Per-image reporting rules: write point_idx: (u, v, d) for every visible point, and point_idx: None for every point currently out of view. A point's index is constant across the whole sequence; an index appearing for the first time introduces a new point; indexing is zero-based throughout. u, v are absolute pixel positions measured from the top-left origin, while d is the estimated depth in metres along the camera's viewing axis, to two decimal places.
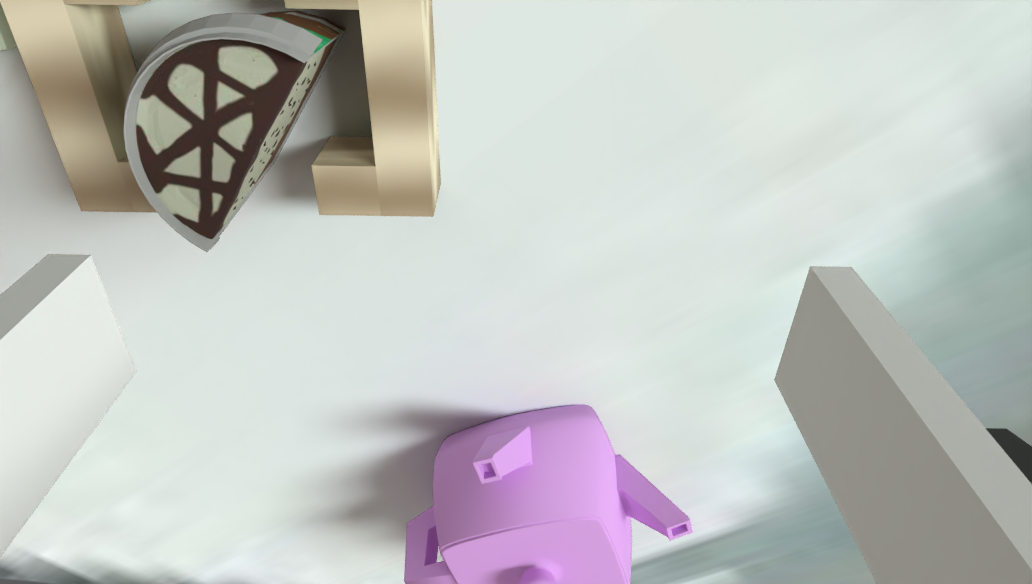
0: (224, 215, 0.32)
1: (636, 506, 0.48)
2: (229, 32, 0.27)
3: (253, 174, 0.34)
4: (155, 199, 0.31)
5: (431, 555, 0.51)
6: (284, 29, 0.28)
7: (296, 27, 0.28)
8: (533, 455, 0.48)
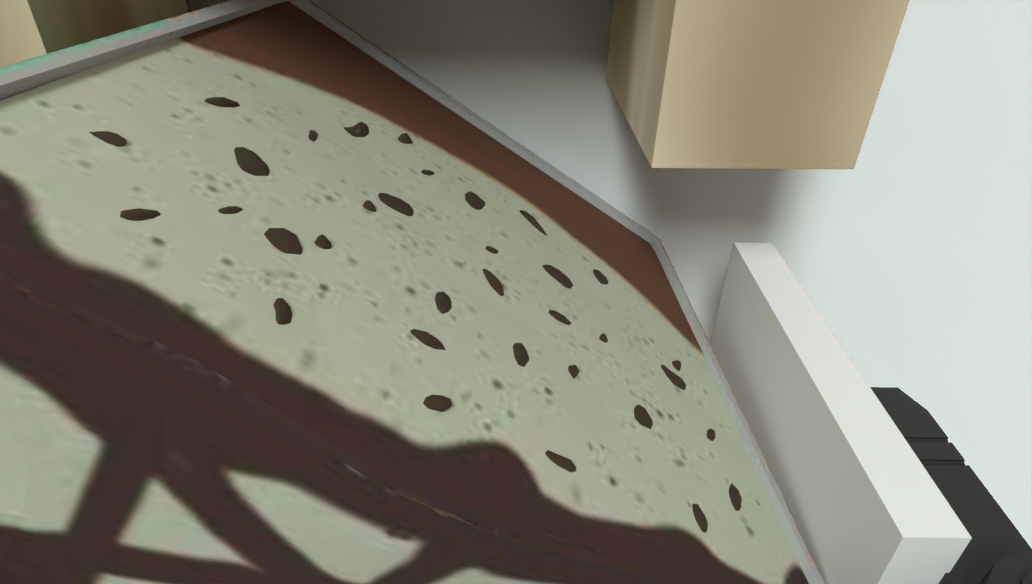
0: None
1: None
2: None
3: (623, 401, 0.09)
4: None
5: None
6: None
7: None
8: None
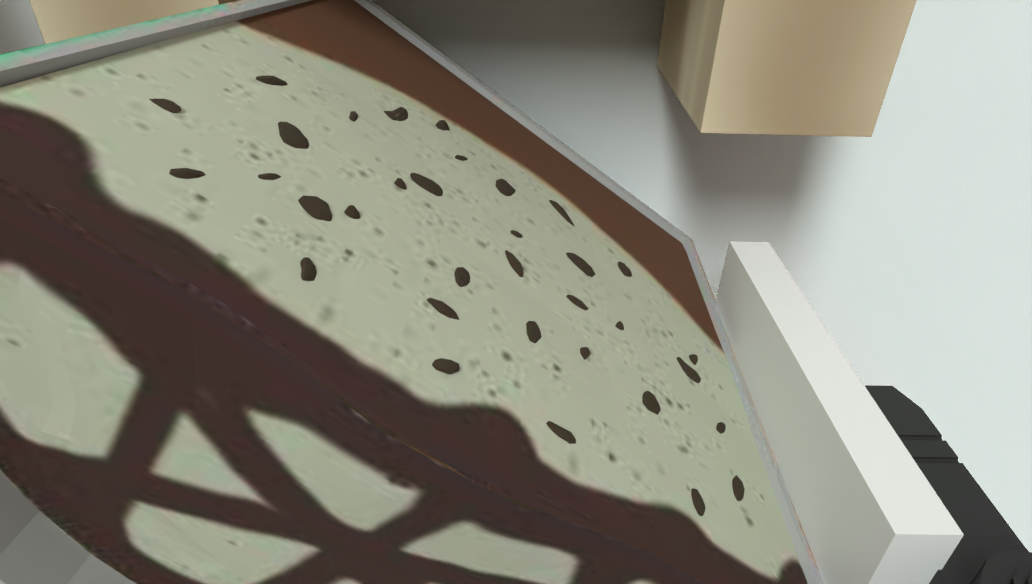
0: None
1: None
2: None
3: (632, 386, 0.09)
4: None
5: None
6: None
7: None
8: None
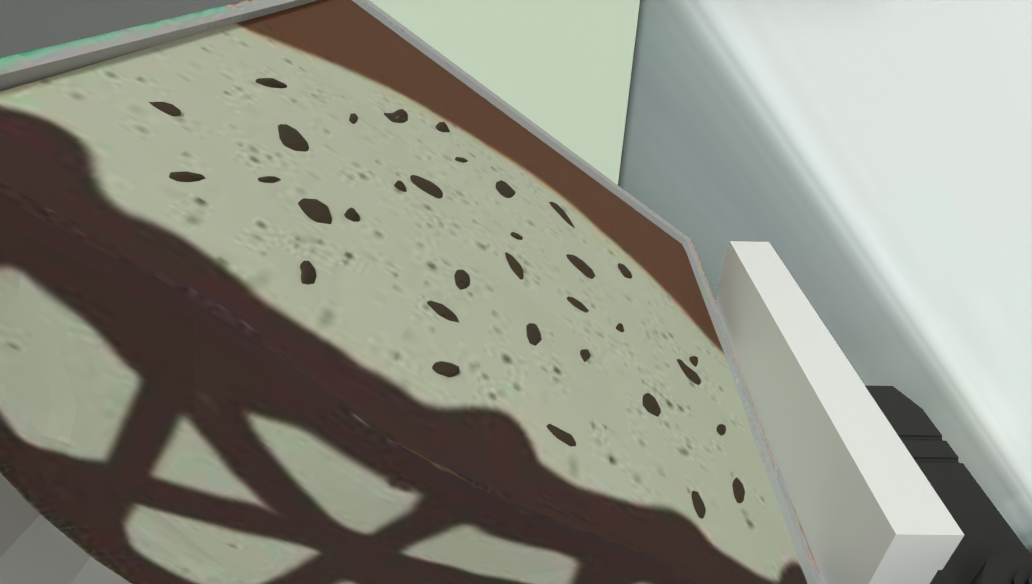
0: None
1: None
2: None
3: (632, 388, 0.09)
4: None
5: None
6: None
7: None
8: None
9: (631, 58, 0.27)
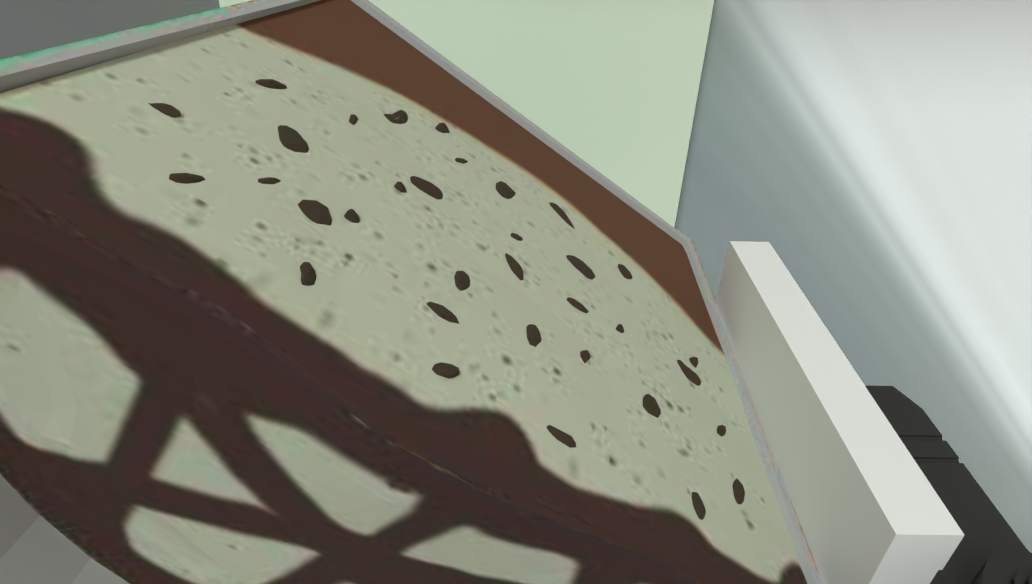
0: None
1: None
2: None
3: (632, 389, 0.09)
4: None
5: None
6: None
7: None
8: None
9: (686, 143, 0.18)
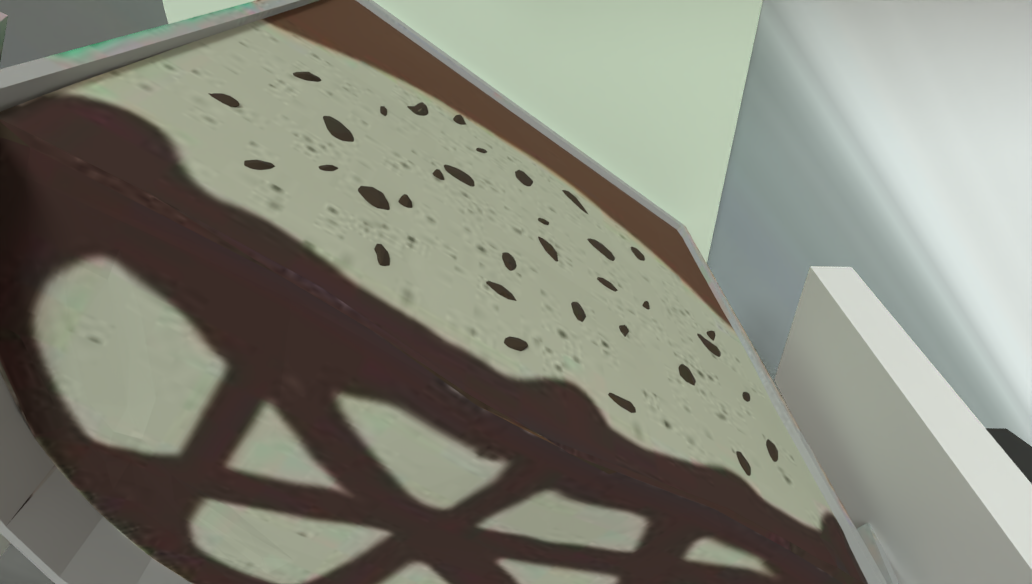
0: (787, 541, 0.08)
1: None
2: None
3: (668, 360, 0.10)
4: None
5: None
6: None
7: None
8: None
9: (719, 193, 0.15)
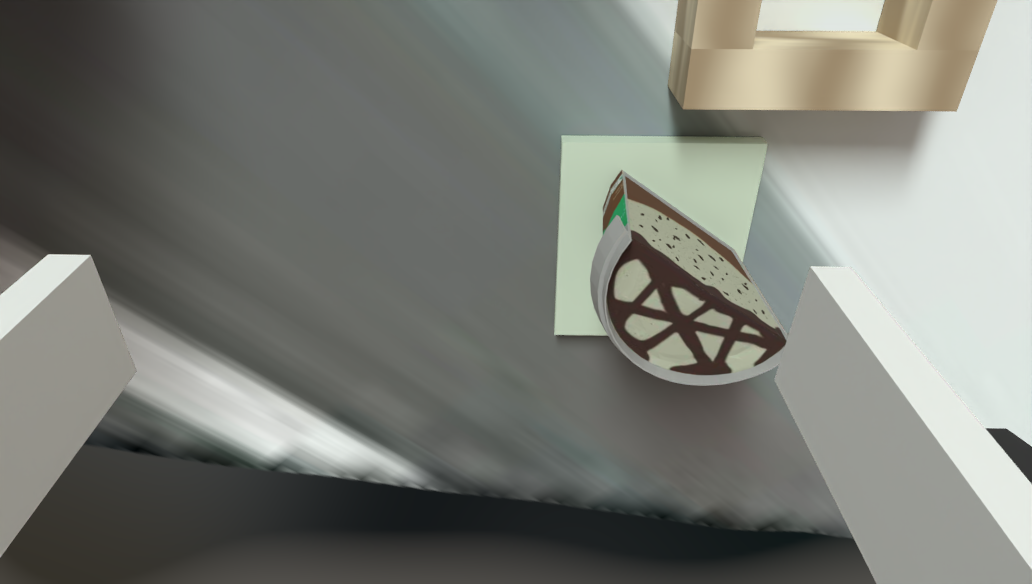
0: (765, 327, 0.34)
1: None
2: (602, 289, 0.33)
3: (734, 287, 0.36)
4: (736, 375, 0.35)
5: None
6: (604, 245, 0.32)
7: (604, 234, 0.32)
8: None
9: (747, 237, 0.41)
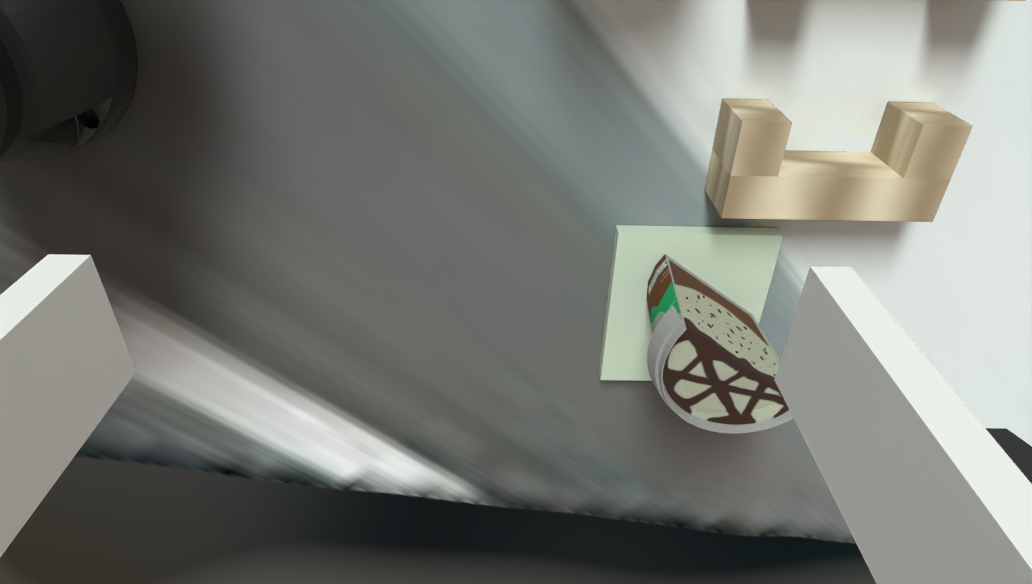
0: None
1: None
2: (659, 362, 0.42)
3: (758, 355, 0.45)
4: (759, 425, 0.44)
5: None
6: (662, 329, 0.41)
7: (662, 319, 0.41)
8: None
9: (763, 305, 0.51)
